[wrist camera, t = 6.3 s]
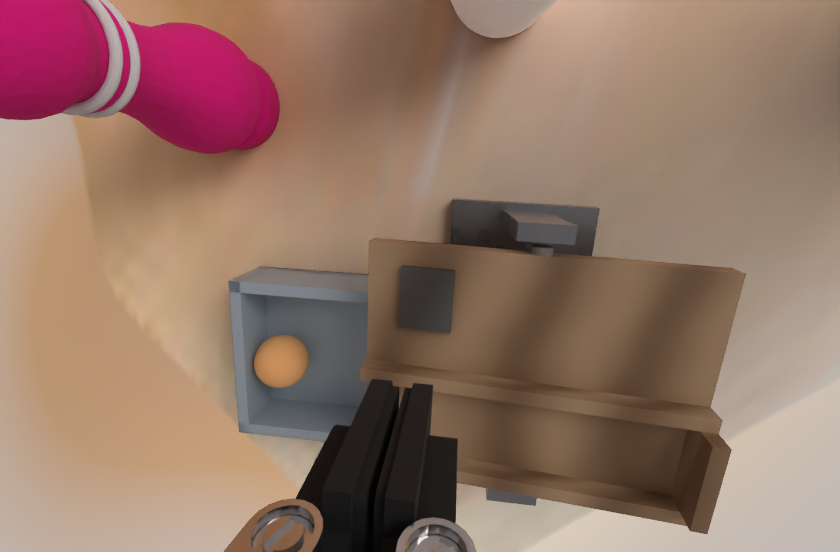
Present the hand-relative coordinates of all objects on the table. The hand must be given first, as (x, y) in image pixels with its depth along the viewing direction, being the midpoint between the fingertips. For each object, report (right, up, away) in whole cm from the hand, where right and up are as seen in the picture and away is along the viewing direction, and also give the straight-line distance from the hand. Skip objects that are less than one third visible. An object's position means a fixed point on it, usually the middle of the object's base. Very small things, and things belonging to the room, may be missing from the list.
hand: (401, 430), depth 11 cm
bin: (-6, -1, +22) cm, 23 cm away
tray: (+7, -1, +13) cm, 14 cm away
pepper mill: (-13, +17, +18) cm, 28 cm away
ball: (-10, -2, +20) cm, 22 cm away
